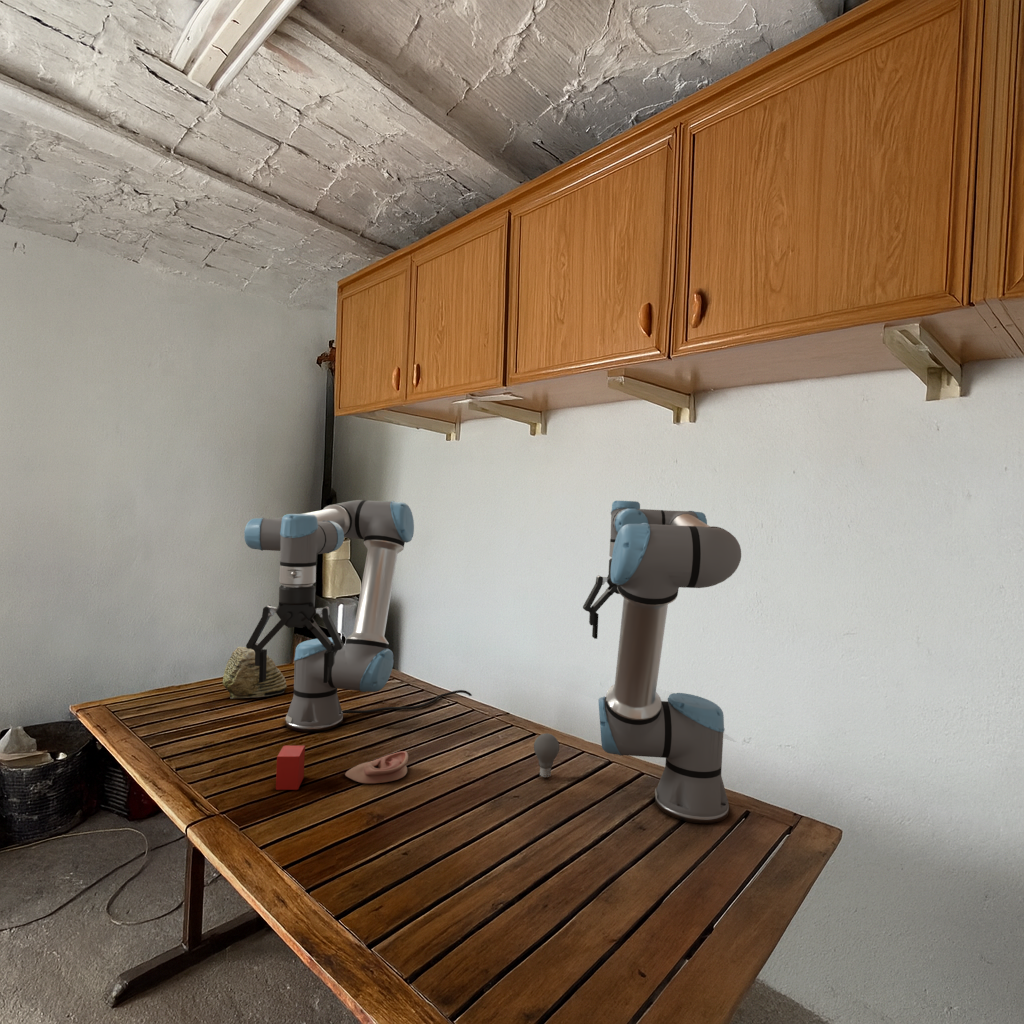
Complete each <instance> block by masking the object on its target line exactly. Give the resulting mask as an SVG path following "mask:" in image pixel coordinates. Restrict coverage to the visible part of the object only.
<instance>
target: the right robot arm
mask: <svg viewBox="0 0 1024 1024" xmlns="http://www.w3.org/2000/svg"><path fill="white" fill-rule="evenodd" d="M609 557H610V558H609V560H608V574H607V576H601V575H597V576H596V577H595V583H594V585H593V587H592V589H591V591H590V592H589V594H588V597H587V598H586V600H585V602H584V603H583V605H582V609H583V610H584V611H586V612H588V613H589V616H588V617H589V618H588V619H589V620H588V623H589V625H590V626H592V630H591V631H592V632H591V633H592V634H591V637H592V638H593V639H594V640H597V639H598V636H599V635H598V634H599V633H598V632H599V613H597V612H598V611H599V610H600V608H601V607H603V605H604V604H605V603H606V602H607V601H608V599H610V597H611V596H613V595H614V594H616V595H620V596H621V597H622V598H623V601H622V611H621V619H620V628H619V629H620V630H619V640H618V649H617V657H616V667H615V668H616V669H615V677H614V684H612V685H611V686H610V687H609V688H608V689H607V691H606V696H603V697H599V698H598V699H597V700H598V714H599V715H598V717H599V727H600V728H599V729H600V741H601V749H602V750H603V751H604V752H605V753H607V754H611V755H617V756H622V757H623V756H628V757H629V756H630V757H647V758H650V757H651V758H662V759H665V765H664V768H663V771H662V774H661V776H660V779H659V781H658V784H657V786H656V787H655V789H654V794H655V795H654V802H655V805H656V807H657V808H658V809H660V810H661V811H662V812H663V813H665V814H666V815H667V816H668V815H669V816H670V817H672V818H674V819H677V820H680V821H684V822H688V823H693V824H714V823H720V822H722V821H723V820H725V819H727V817H728V815H729V809H730V808H729V807H730V804H729V799H728V794H727V791H726V788H725V785H724V781H723V777H722V765H723V749H724V748H723V747H724V732H725V731H726V730H725V716H724V711H723V709H722V708H721V707H720V705H718V704H716V703H715V702H713V701H711V700H709V699H707V698H705V697H701V696H698V695H695V694H692V693H691V694H690V693H686V692H685V693H684V692H676V693H675V692H672V693H670V694H669V696H668V697H667V700H665V701H663V700H662V699H661V696H660V694H659V693H658V692H657V687H658V680H659V673H660V665H661V657H662V652H663V651H662V650H663V644H664V636H665V629H666V623H667V622H666V621H667V615H668V606H669V604H671V603H673V602H674V601H675V600H676V599H677V598H678V595H679V588H685V589H686V588H687V589H688V588H689V589H704V588H709V587H713V586H716V585H718V584H721V583H723V582H725V581H726V580H728V579H730V578H731V577H732V576H733V574H734V573H736V571H737V569H738V568H739V566H740V563H741V561H742V560H741V559H742V549H741V545H740V543H739V541H738V539H737V538H736V536H735V535H733V534H732V533H731V532H729V531H728V530H726V529H725V528H723V527H719V526H715V525H713V526H710V525H709V524H708V519H707V515H706V514H705V513H704V512H702V511H694V510H663V509H646V508H641V504H640V502H639V501H636V500H635V501H634V500H613V502H612V503H611V510H610V539H609ZM605 583H606V584H608V587H606V589H605V591H604V592H603V593H602V594H601V595H600V596H599V598H597V596H598V594H599V592H600V591H601V588H602V587H603V586H604V585H605ZM596 598H597V600H596ZM595 600H596V601H595Z"/></svg>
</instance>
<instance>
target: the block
mask: <svg viewBox="0 0 1024 1024" xmlns="http://www.w3.org/2000/svg"><path fill="white" fill-rule="evenodd" d="M305 753H306V745H283V746H282V748H281V749H280V751H279V752H278V754H277V756H276V772H275V773H276V775H275V776H276V777H275V790H276V791H297V790H299V789H300V786H301V784H302V782H303V780H304V778H305V758H306V757H305V756H306V754H305Z"/></svg>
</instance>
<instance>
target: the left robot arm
mask: <svg viewBox="0 0 1024 1024" xmlns="http://www.w3.org/2000/svg"><path fill="white" fill-rule="evenodd" d="M414 521H415V520H414V515H413V512H412V509H411V507H410V506H409V505H408V504H407V503H406V502H402V501H395V500H391V501H390V500H389V501H388V500H365V499H356V500H355V499H354V500H349V501H344V502H343V501H342V502H339V503H338V502H337V503H334V504H329V505H326V506H324V507H323V509H321V510H315V511H308V512H303V513H287V514H284V515H283V516H281V517H274V518H273V517H272V518H265V517H261V518H260V517H255V518H251V519H250V520H249V521H247V523H246V525H245V527H244V530H243V531H244V535H243V536H244V538H243V539H244V542H245V544H246V546H247V547H248V548H250V549H251V550H260V551H263V552H264V551H276V552H277V551H278V552H280V555H279V556H280V557H279V558H280V561H279V579H278V581H279V583H280V584H281V585H280V586H279V587H278V605H277V606H272V605H271V604H267V605H266V606H264V607H263V608H262V614H261V618H260V619H259V621H258V623H257V625H256V626H255V628H254V630H253V632H252V634H251V635H250V637H249V639H248V641H247V643H246V645H245V647H247V648H248V649H252V650H254V651H255V665H256V666H259V682H263V681H264V680H265V679H266V666H267V655H268V649H265V648H264V647H266V646H267V644H268V643H269V642H270V641H271V640H272V639H273V638H274V637H275V636H276V635H277V633H278V632H280V631H281V629H282V628H283V627H284V626H285V627H287V628H288V629H289V628H290V629H292V628H298V629H303V628H305V627H306V629H308V630H309V631H310V632H311V633H312V634H313V635H314V636H315V638H313V639H307V640H304V641H302V642H299V643H298V644H297V645H296V647H295V652H294V653H295V654H294V659H293V661H294V672H293V695H292V696H293V697H292V699H291V702H290V704H289V708H288V711H287V713H286V715H285V726H286V728H287V729H289V730H291V731H294V732H295V731H296V732H301V733H316V732H325V731H329V730H332V729H335V728H337V727H339V726H340V725H342V723H343V722H344V714H370V713H377V712H382V711H392V710H393V711H395V710H397V711H398V710H399V711H400V710H402V711H404V710H405V711H406V710H407V711H408V710H416V709H420V708H424V707H426V706H429V705H431V704H433V703H435V702H437V701H438V700H440V698H443V697H447V696H451V695H454V694H455V695H456V694H466V695H467V696H469V697H472V696H473V694H472V693H471V692H469V691H467V690H464V689H458V690H453V691H449V692H446V693H445V692H444V693H442V694H439V695H437V696H436V697H435V698H434V699H431V700H430V701H427V702H424V703H422V704H418V705H411V706H385V707H379V708H373V709H362V710H361V709H359V710H357V709H356V710H355V709H354V710H353V709H350V710H349V709H348V710H347V709H346V710H343V709H342V706H341V702H340V699H339V695H338V689H339V690H347V691H357V692H362V693H366V692H367V693H369V692H370V693H377V692H379V691H381V690H382V689H383V688H384V687H385V686H386V684H388V681H389V680H390V677H391V675H392V671H393V668H394V661H395V660H394V653H393V651H392V650H391V649H389V644H390V643H389V642H388V640H387V638H386V637H385V634H386V629H387V622H388V615H389V610H390V603H391V597H392V590H393V586H394V585H393V584H394V578H395V573H396V567H397V566H396V565H397V560H398V554H400V553H401V552H402V551H404V548H405V543H409V542H411V541H412V540H413V538H414V533H415V522H414ZM345 538H347V539H355V540H356V539H357V540H363V545H364V546H365V548H366V549H367V553H366V558H365V564H364V569H363V574H362V580H361V586H360V591H359V598H358V602H357V603H358V604H357V608H356V614H355V620H354V626H353V631H352V633H351V634H350V635H348V636H347V637H346V638H345V644H344V641H343V639H342V637H341V635H340V634H339V633H340V632H339V630H338V629H337V627H336V625H335V622H334V621H333V619H332V616H331V609H330V606H328V605H326V606H324V607H317V606H316V586H315V585H314V584H315V583H316V582H317V581H316V580H317V574H316V573H317V555H322V554H331V553H332V552H335V551H337V550H339V549H340V548H341V547H342V545H343V543H344V541H345ZM275 613H276V615H277V617H278V618H279V621H278V622H277V623H276V624H275V625H274V627H272V629H270V630H269V632H268V633H267V634H266V635H265V636H264V637H263V638H262V640H260V641H259V643H258V639H259V638H260V637H261V635H262V632H263V630H264V629H265V627H266V625H267V623H268V622H269V620H270V619H271V617H273V616H274V615H275ZM316 615H318V616H319V617H320V618H321V619H322V621H323V623H324V625H325V627H326V630H327V631H328V634H329V636H330V637H329V636H328V635H326V633H325V632H324V631H323V630H322V628H321V627H320V626H319V625H318V623H317V622H316V620H315V618H314V617H315V616H316Z"/></svg>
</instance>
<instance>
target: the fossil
mask: <svg viewBox="0 0 1024 1024" xmlns="http://www.w3.org/2000/svg"><path fill="white" fill-rule="evenodd" d="M222 676H223V677H222V685H223V687H224V688H225V690H226V691H228V693H229V698H230V699H250V698H264V697H271V696H275V695H281V694H284V693H285V691H286V689H287V687H288V686H287V680H286V678H285V676H284V674H283V673H282V672H281V669H279V668H278V667H277V665H276V663H275V662H274V660H273V659H272V658H271V657H270V656H269V655H268V654H267V666H266V679H265V680H264V681H263V682H259V666H256V665H255V651H254V650H252V649H248V648H247V647H246V646H238V647H237V648H236V649H235V650H233V651H232V653H231V656H230V657H229V659H228V660H227V663H226V666H225V668H224V671H223V675H222Z"/></svg>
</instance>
